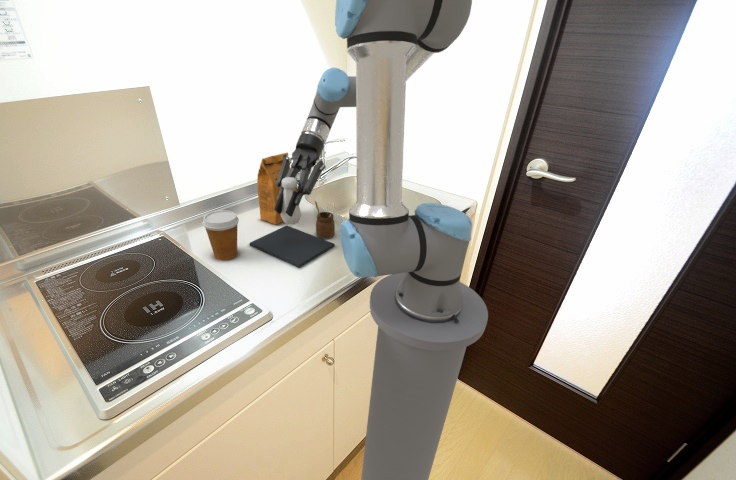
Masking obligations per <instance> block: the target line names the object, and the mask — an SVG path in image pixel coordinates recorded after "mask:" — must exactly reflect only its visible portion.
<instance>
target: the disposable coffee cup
mask: <svg viewBox="0 0 736 480" xmlns="http://www.w3.org/2000/svg"><path fill="white" fill-rule="evenodd" d="M239 219H240V218H239V217H238V215H237V213H236V212H235V211H232V210H227V209H226V210H225V209H223V210H222V209H221V210H220V209H219V210H214V211H211V212H207V213H206V214H204V216H203V220H202V222H201V223H202V226H203V227H204V228H205V231H206V234H207V238H208V240H209V243H210V246H211V250H212V253H213V256H214V258H215V259H216V260H218V261H229V260H232V259H235V258H236V257H237V256H238V225H239V221H240V220H239Z"/></svg>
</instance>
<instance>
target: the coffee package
mask: <svg viewBox="0 0 736 480" xmlns="http://www.w3.org/2000/svg"><path fill="white" fill-rule="evenodd" d="M284 154H286V155H287V156H288V155H289V152H283V153H279V154H275V155H270V156H266V157H264V158H262V159H261V162H260V165H259V169H258V170H257V171H258V172H257V179H256V181H257V184H256V185H257V194H258V195H257V198H258V206H259V216H260V220H261V221H264V222H265V221H266V222H268V223H270V224H275V225H278V224H279V223H282V222H284V221H283V219H282V217H281V215H280V214H278V213H277V212H276V211H275V210H274V209H275V206H276V204H277V201H278V200H277V196H278V193H279V191H280V188H279V187H278V186H277V185H276V181H277V178H278V175H279V172H280V169H281V166H282V163H283V155H284ZM290 168H291V167H290ZM290 168H289V170H290ZM288 172H289V171H288ZM297 188H298V186H297V187H296V188H295V190H296V189H297ZM296 192H297V190H296Z"/></svg>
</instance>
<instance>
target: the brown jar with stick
mask: <svg viewBox="0 0 736 480" xmlns="http://www.w3.org/2000/svg"><path fill="white" fill-rule="evenodd" d="M331 204H332V205H331ZM314 205H315V208H316V210H317V215H316V221H315V235H316V237H318V238H321V239H324V240H327V239H331V238H333V237H334V236H335V230H336V229H335V227H336V226H335V225H336V223H335V219H334V218H335V216H334V213H333V209H335V206H336V205H335V204H334V202H333V201H330V202H329V203H328V204H327V208H326V209H328V210H330V208H331V207H333V209H331V210H330V211H321V212H320V207H319V205H318V202H317V201H316V200H314ZM328 206H329V208H328Z"/></svg>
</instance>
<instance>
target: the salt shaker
mask: <svg viewBox="0 0 736 480" xmlns="http://www.w3.org/2000/svg"><path fill="white" fill-rule="evenodd" d="M282 187H283V188H284V192H283V206H282V212H281V214H280V215H281V217H282V219H283V221H282V222H283V223H284V224H285V225H287V226H289V225H290V226H294V225H297V224H299V221H300V218H301V216H302V212H301V208H300V204H299V205H298V206H297V205H296V208H295V210H294V213H293V215H292V217H290V216H289V215H288V214H287V213H285V212H286V210H287V207H288V205H289V202H290V200H291V197H292V195H293V192H294V191H296V190H295V188H296V187H297V188H298V180H297V179H296V177H295V178H293V177H286V178H283V179H282Z"/></svg>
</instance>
